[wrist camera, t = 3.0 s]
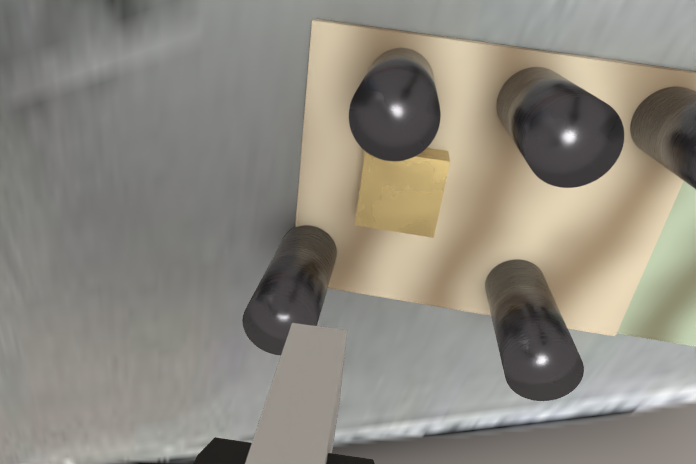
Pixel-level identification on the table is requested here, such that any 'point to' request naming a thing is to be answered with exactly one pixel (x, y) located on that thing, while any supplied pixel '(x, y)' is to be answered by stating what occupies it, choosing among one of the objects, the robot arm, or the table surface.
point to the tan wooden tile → (403, 193)
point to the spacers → (544, 160)
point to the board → (504, 191)
